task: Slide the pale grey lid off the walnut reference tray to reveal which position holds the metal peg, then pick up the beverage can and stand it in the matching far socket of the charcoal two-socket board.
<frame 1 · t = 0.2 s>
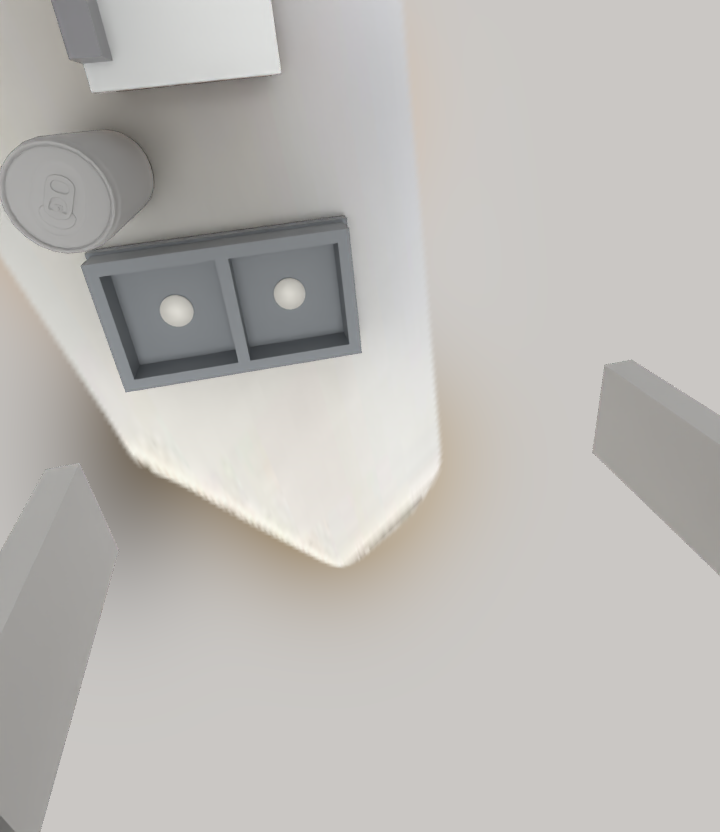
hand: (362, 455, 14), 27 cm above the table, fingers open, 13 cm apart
beverage can: (115, 172, 34), on the table
socket board: (234, 297, 38), on the table
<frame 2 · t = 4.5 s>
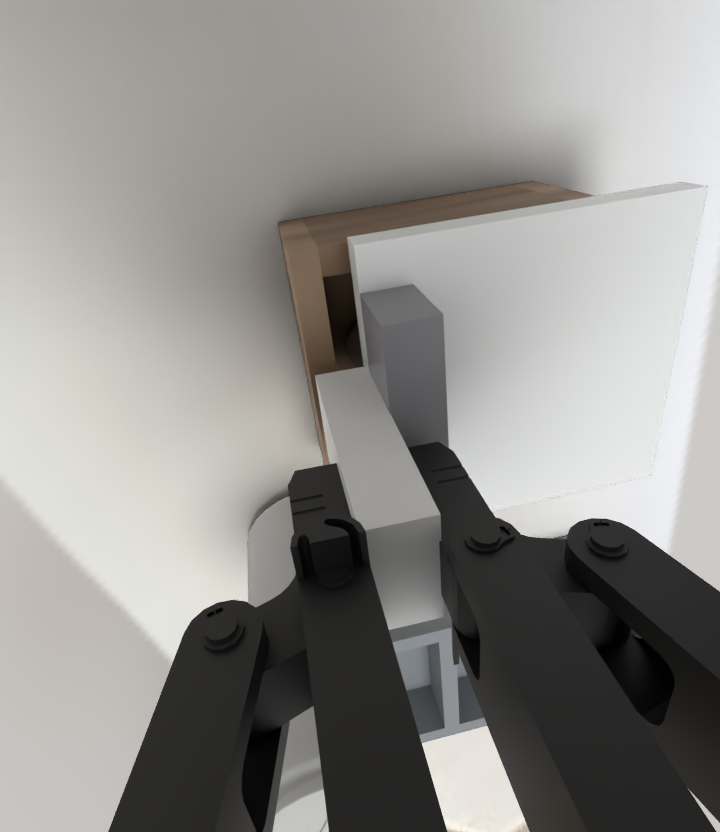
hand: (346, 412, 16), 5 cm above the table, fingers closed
beverage can: (301, 526, 25), on the table
reference tray: (417, 325, 21), on the table
socket board: (428, 627, 29), on the table
lid: (540, 391, 15), point 7 cm above the table, slide at 1.8 cm, touching gripper
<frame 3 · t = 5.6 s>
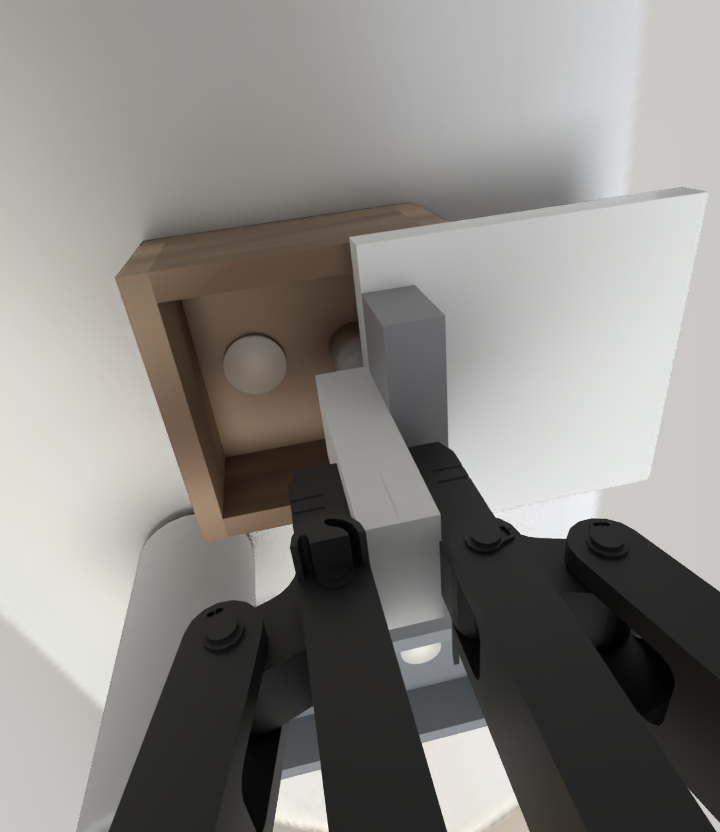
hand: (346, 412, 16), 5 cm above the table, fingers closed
beverage can: (200, 546, 24), on the table
reference tray: (302, 346, 20), on the table
socket board: (344, 648, 29), on the table
lid: (540, 394, 15), point 7 cm above the table, slide at 6.2 cm, touching gripper
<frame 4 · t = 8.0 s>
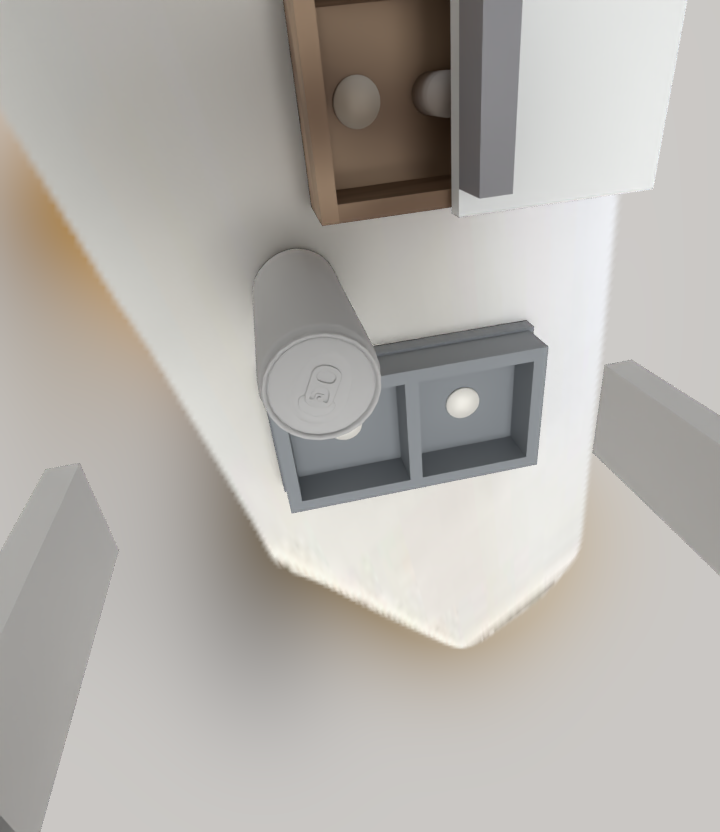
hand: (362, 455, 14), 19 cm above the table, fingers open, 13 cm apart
beverage can: (295, 287, 30), on the table
reference tray: (389, 97, 26), on the table
socket board: (400, 405, 36), on the table
lid: (578, 82, 21), point 6 cm above the table, slide at 6.2 cm
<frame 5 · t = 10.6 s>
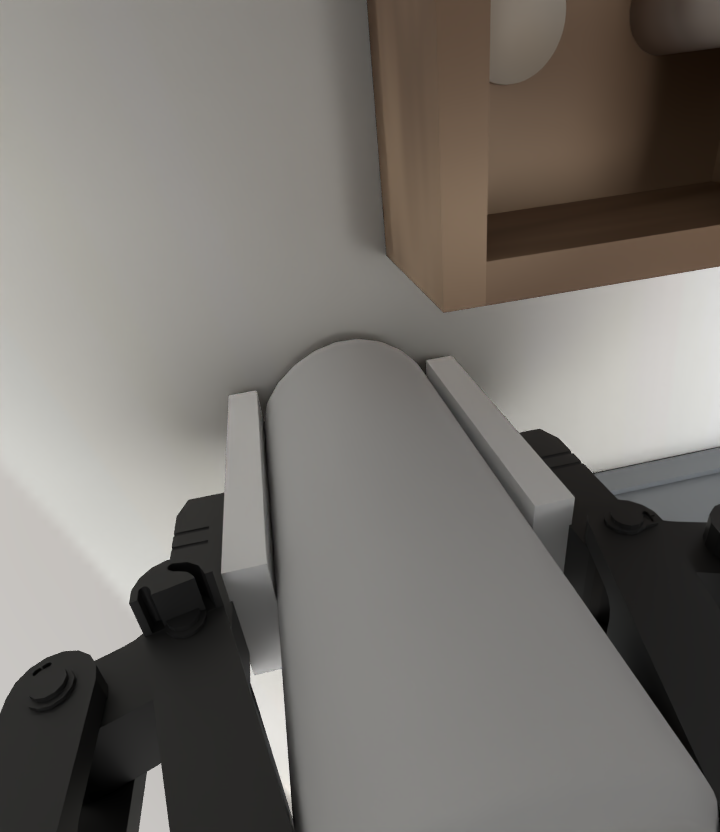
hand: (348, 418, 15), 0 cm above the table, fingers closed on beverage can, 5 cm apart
beverage can: (346, 406, 16), on the table, touching gripper
reference tray: (569, 18, 12), on the table
socket board: (514, 581, 21), on the table
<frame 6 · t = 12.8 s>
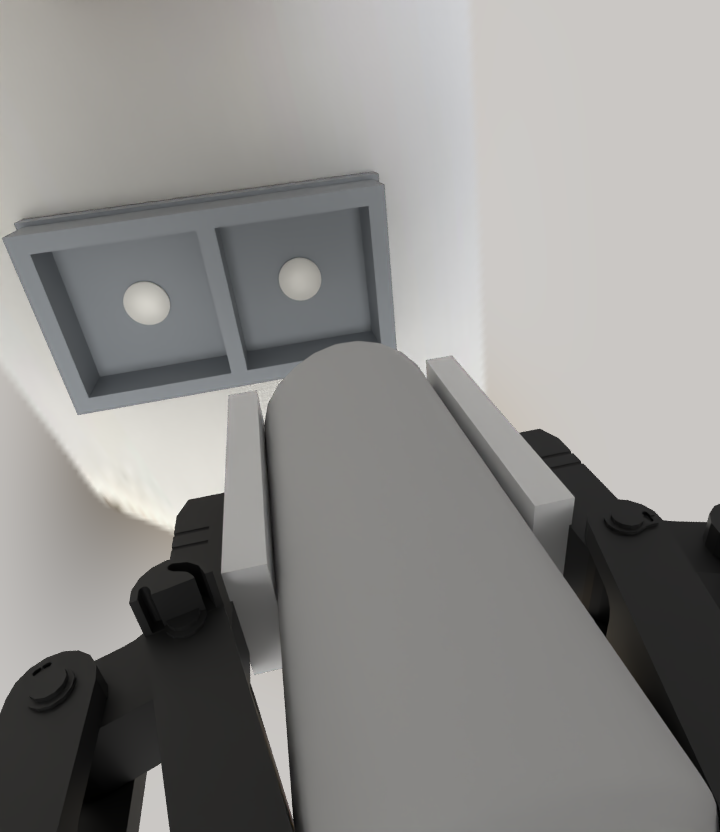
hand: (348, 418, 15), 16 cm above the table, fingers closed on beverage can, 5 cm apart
beverage can: (347, 408, 16), point 15 cm above the table, touching gripper
socket board: (225, 285, 29), on the table
when the fingers open (4 cm above the table, at t = 15.1 s): beverage can drops 2 cm, resting on socket board.
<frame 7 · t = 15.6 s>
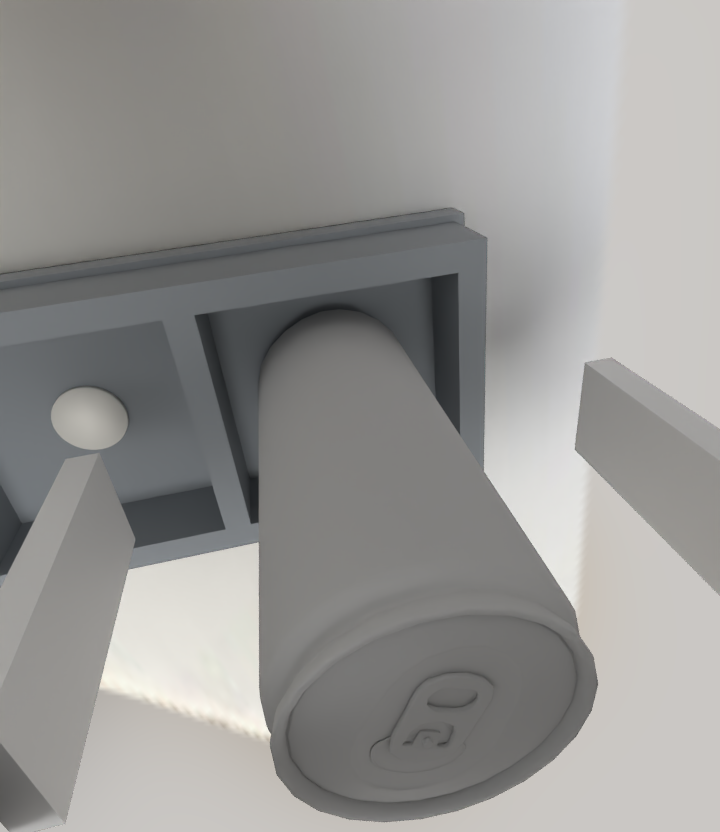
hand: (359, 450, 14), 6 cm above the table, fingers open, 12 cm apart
beverage can: (332, 372, 18), point 1 cm above the table, touching socket board
socket board: (216, 381, 18), on the table
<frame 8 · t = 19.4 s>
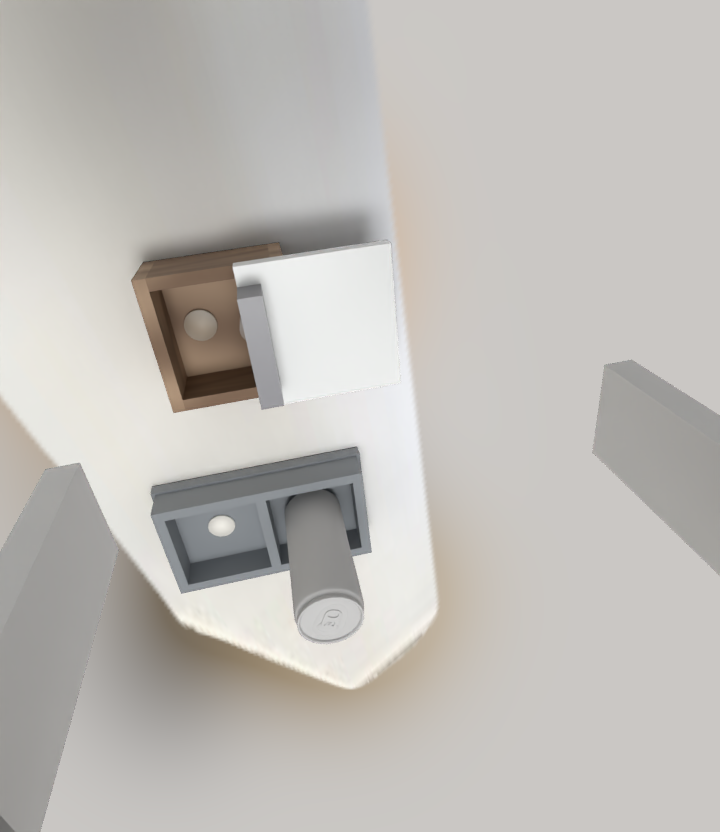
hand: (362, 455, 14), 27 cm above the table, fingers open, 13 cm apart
beverage can: (312, 505, 47), point 1 cm above the table, touching socket board
reference tray: (227, 316, 38), on the table
socket board: (267, 508, 47), on the table
lid: (325, 334, 33), point 7 cm above the table, slide at 6.2 cm
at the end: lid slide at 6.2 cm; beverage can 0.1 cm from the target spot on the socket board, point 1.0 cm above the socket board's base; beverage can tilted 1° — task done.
